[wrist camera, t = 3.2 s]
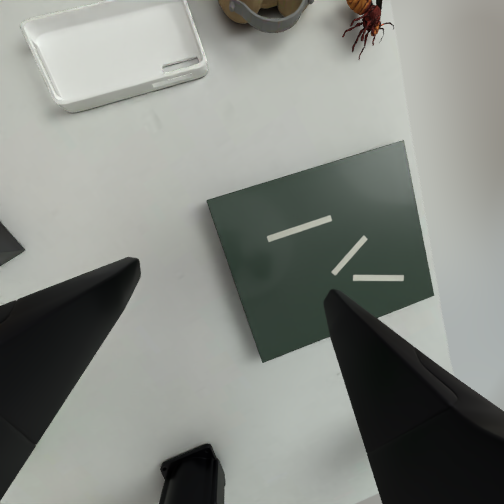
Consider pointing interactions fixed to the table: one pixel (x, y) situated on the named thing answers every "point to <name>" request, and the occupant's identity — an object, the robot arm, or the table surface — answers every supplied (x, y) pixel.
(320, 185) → the chalkboard
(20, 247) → the wooden block on base
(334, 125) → the table surface
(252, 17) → the alarm clock
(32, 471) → the table surface
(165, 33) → the phone case
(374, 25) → the insect
